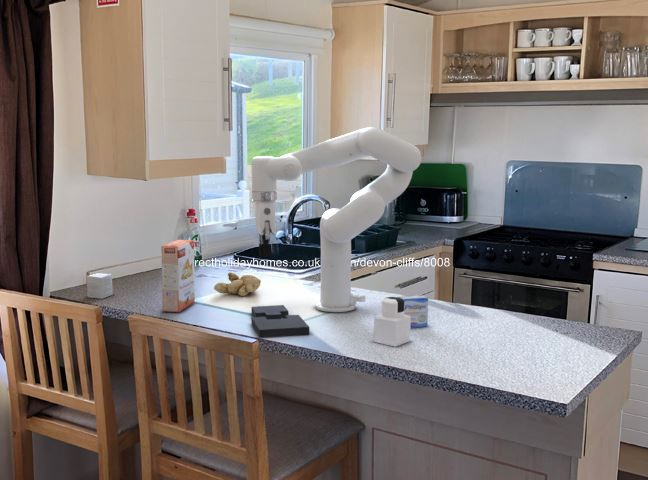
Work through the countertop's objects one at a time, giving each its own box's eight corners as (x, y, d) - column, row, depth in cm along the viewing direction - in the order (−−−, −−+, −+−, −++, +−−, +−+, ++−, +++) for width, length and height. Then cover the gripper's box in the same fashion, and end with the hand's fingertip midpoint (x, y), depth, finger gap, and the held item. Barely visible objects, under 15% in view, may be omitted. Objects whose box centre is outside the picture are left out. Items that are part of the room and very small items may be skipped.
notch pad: (298, 321, 225) (298, 314, 224) (309, 334, 211) (309, 326, 211) (251, 324, 221) (251, 317, 221) (259, 337, 208) (259, 329, 208)
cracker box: (180, 313, 234) (178, 246, 231) (161, 312, 236) (159, 245, 232) (196, 302, 248) (194, 239, 244) (179, 302, 249) (177, 238, 245)
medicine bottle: (388, 336, 209) (389, 294, 207) (410, 341, 205) (411, 297, 203) (373, 342, 204) (374, 298, 202) (395, 347, 200) (396, 302, 197)
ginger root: (271, 285, 268) (268, 264, 265) (257, 306, 254) (254, 284, 251) (229, 284, 272) (226, 263, 269) (213, 304, 258) (210, 283, 255)
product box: (98, 293, 261) (97, 272, 259) (113, 295, 259) (112, 274, 257) (87, 297, 255) (85, 276, 254) (102, 299, 253) (101, 277, 252)
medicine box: (402, 328, 217) (402, 299, 216) (396, 325, 222) (397, 295, 220) (427, 327, 219) (428, 297, 218) (421, 323, 224) (422, 294, 222)
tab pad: (283, 311, 237) (283, 304, 236) (290, 320, 226) (290, 313, 225) (251, 313, 234) (251, 306, 234) (257, 322, 224) (257, 315, 223)
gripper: (281, 199, 226) (281, 260, 230) (271, 194, 241) (272, 251, 244) (256, 199, 225) (256, 261, 228) (248, 195, 239) (249, 252, 243)
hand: (264, 256), depth 236 cm, fingers closed
